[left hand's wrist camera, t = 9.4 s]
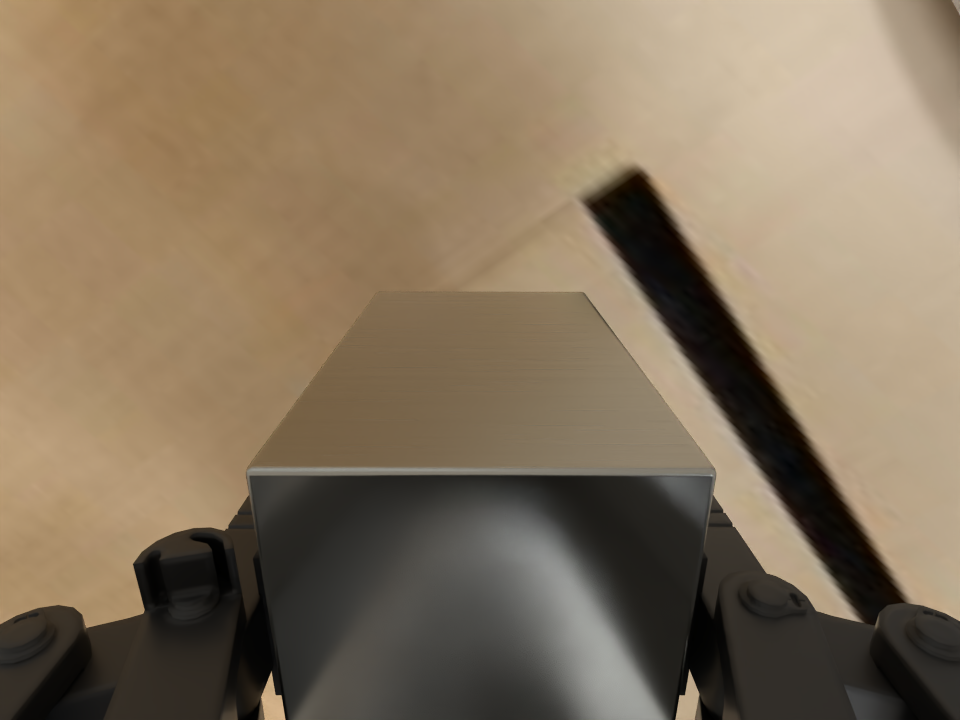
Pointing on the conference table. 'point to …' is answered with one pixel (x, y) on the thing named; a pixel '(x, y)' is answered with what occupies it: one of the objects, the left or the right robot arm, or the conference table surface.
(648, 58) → the conference table surface
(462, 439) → the bar
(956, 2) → the projector
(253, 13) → the conference table surface
